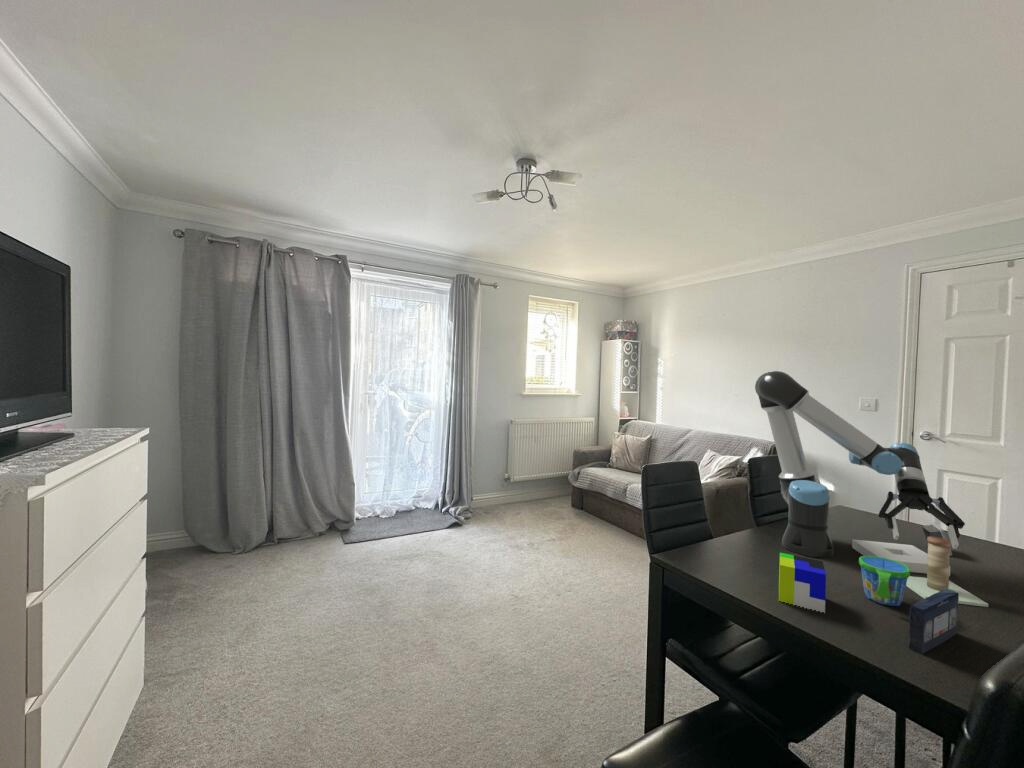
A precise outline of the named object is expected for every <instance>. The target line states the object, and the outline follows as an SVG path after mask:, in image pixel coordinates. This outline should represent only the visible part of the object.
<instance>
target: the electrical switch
mask: <svg viewBox="0 0 1024 768" xmlns="http://www.w3.org/2000/svg"><path fill="white" fill-rule="evenodd" d="M921 528H922V531H923V534H924V537H925V540H926V542H927V537H929V536H932V537H939V538H943V539H947V535H946V533H945V530H944V529H943V527H941V526H939V525H938V524H936V523H934V522H930V524H928V525H922V526H921ZM947 540H948V539H947ZM927 544H928V542H927ZM950 556H953V552H952V548H950ZM950 556H949V557H950Z"/></svg>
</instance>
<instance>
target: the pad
mask: <svg viewBox="0 0 1024 768" xmlns="http://www.w3.org/2000/svg"><path fill="white" fill-rule="evenodd" d="M907 587H908V589H910V590H911V591H913V592H914V593H915V594H917V595H918V596H920V597H921V598H922V599H925V598H927V597H930V596H931V595H933V594H935V593H938V592H939V591H938V590H934V589H932V588H929V587H928V586H927V577H921V576H911V575H910V576H909V577H908V578H907V583H906V588H907ZM949 590H951V591H954V592H957V593H958V594H959V599H958V605H959V604H962V605H968V606H975V607H976V606H978V607H984V608H989V603H987V602H985V601H984V600H982V599H981V598H979V597H978V596H976V595H975V594H972V593H971V592H969V591H967V590H966V589H963V587H961V586H959V585H958V584H955V583H954V582H953V581H952V580H949Z"/></svg>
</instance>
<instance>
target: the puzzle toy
mask: <svg viewBox="0 0 1024 768" xmlns="http://www.w3.org/2000/svg"><path fill="white" fill-rule="evenodd" d="M778 566H779V569H778V573H779V574H778V602H779V601H781V602H780V603H782V602H785V603H784V604H786V603H789V604H788V605H790V604H793V605H792V606H794V605H797V606H796V607H798V606H800V607H799V608H802V607H804V608H803V609H806V608H807V610H810V609H812V610H811V611H814V610H816V611H815V612H818V611H820V612H819V613H822V612H824V613H823V614H826V591H827V589H826V588H827V573H826V570H825V565H824V562H823V560H819V559H814V558H809V557H808V558H807V557H804V556H799V555H794V554H790V553H789V554H788V553H785V552H784V553H783V552H779V565H778Z"/></svg>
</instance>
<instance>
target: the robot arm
mask: <svg viewBox="0 0 1024 768" xmlns="http://www.w3.org/2000/svg"><path fill="white" fill-rule="evenodd" d="M754 390H755V393H756V394H757V396H758V401H759V405H760V408H761V409H762V410H763V411H765V412H766V414H767V417H768V421H769V426H770V430H771V433H772V436H773V437H772V438H773V441H774V446H775V449H776V453H777V456H778V461H779V465H780V469H781V472H780V473H779V475H778V479H779V484H780V486H781V487H780V492H781V497H782V498H783V500H784V501H785V502H786V503H787V505H788V515H787V516H788V517H787V519H788V522H787V526H786V529H785V531H784V533H783V535H782V538H781V545H782V547H783V548H785V549H786V550H788V551H790V552H793V553H796V554H798V555H803V556H807V557H813V558H821V559H822V558H824V559H825V558H831V557H834V551H835V550H834V545H833V541H832V539H831V537H830V534H829V511H830V510H829V509H830V507H829V506H830V504H829V503H830V499H831V498H830V493H829V492H830V491H829V488H828V487H827V486H826V485H824V484H822V483H818V482H817V481H816V476H815V474H814V471H812V470H810V469H809V468H808V464H807V461H806V457H805V453H804V450H803V449H804V448H803V444H802V442H801V438H800V434H799V433H800V432H799V430H798V425H797V422H796V418H795V414H797V415H798V416H799V417H800V418H802V419H803V420H805V421H806V422H808V423H809V424H810V425H812V426H814V427H815V429H817V430H818V431H820V432H821V433H822V434H824V435H826V436H827V437H829V438H830V439H831V440H833V442H836V443H837V444H838V445H839V446H841V447H842V448H844V449H845V450H846V451H848V461H849V462H850V463H851V464H853V465H856V466H857V465H858V466H865V467H867V468H869V469H872V470H874V471H875V472H877V473H878V474H881V475H886V476H891V475H894V479H895V484H896V488H897V492H898V494H897V493H893V491H888V493H887V495H886V501H885V502H884V504H883V505H882V507H881V508H880V510H879V512H878V515H877V517H878V518H881V519H884V521H885V522H886V525H887V528H888V529H889V530H890V529H891V532H892V537H893V540H895V541H897V540H898V539H899V537H900V534H899V529H898V524H897V520H896V519H897V518H896V517H895V516H897V515H898V514H899V513H901V512H902V511H903V510H905V509H906V508H908V509H910V510H916V511H917V510H918V511H925V512H926V513H928V514H931V515H932V516H933V517H934V518H935V519H938V521H940V523H942V524H944V525H945V526H947V528H946V530H947V531H946V532H947V534H948V537H949V541H951V549H954V550H957V549H958V547H959V541H958V540H959V537H960V536H961V534H960V530H959V529H963V528H964V526H965V525H966V522H964V520H963V519H961V518H960V516H959V515H958V514H957V513H956V512H955V511H954V510H953V509H952V508H951V507H950V506H949V504H947V503H946V501H945V499H944V497H941V496H939V497H938V498H932V497H931V495H930V492H929V490H928V485H927V484H926V483H927V481H926V478H925V474H924V471H923V469H922V464H921V459H920V458H921V457H920V455H919V453H918V451H917V448H916V447H915V446H914V445H912V444H910V443H907V442H901V443H897V442H896V443H893V444H891V445H890V446H889V447H883V446H882V445H880V444H878V443H877V442H876V441H875V440H874V439H872V438H871V437H869V436H868V435H866V434H865V433H863V432H862V431H860V430H859V429H858V428H857V427H855V426H853V425H852V424H851V423H849V422H848V421H847V420H845V419H844V418H843V417H841V416H839V415H838V414H836V413H835V412H834V411H832V410H831V409H830V408H828V407H827V406H825V405H824V404H823V403H821V402H819V401H818V400H816V399H815V397H812V396H811V395H810V392H809V390H808V389H806V388H805V387H803V385H801V384H800V383H798V382H797V381H796V379H794V378H793V377H792V376H790V375H789V374H788V373H786V372H783V371H777V370H775V371H774V370H772V371H768V372H765V373H763V374H761V375H760V376H759V377H758V378H757V380H756V382H755V385H754ZM794 413H795V414H794ZM896 499H897V500H898V501H899V502H900V503H899V504H898V505H896V506H894V508H892V510H890V511H889V512H888V513H886V512H887V511H888V509H889V507H890V506H891V504H892V501H896ZM934 504H935V505H934ZM937 507H938V508H939V509H938V508H937Z"/></svg>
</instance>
